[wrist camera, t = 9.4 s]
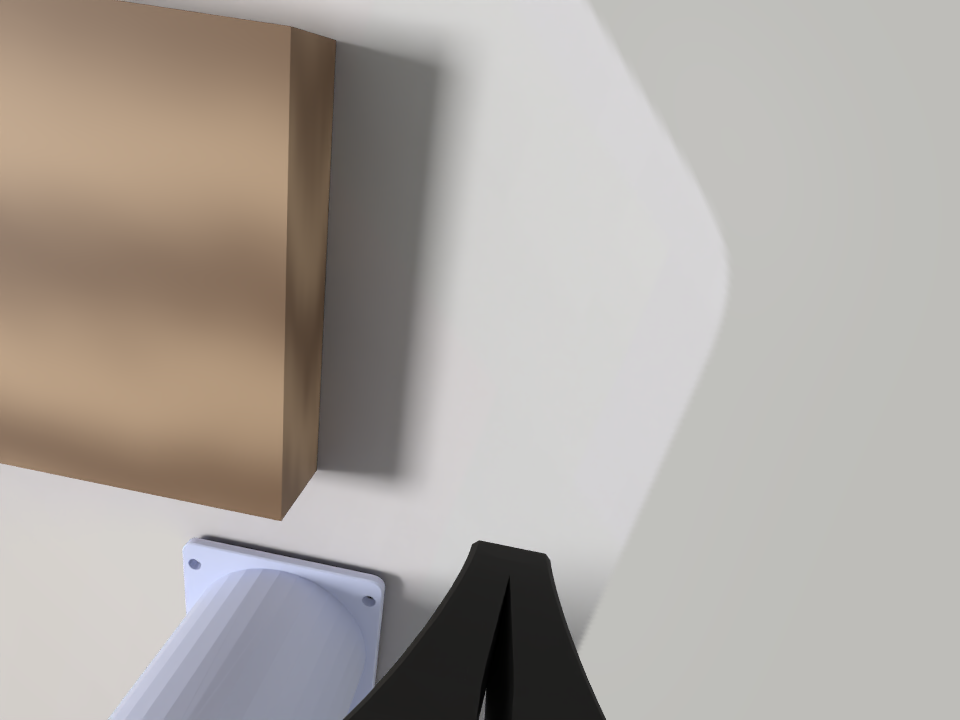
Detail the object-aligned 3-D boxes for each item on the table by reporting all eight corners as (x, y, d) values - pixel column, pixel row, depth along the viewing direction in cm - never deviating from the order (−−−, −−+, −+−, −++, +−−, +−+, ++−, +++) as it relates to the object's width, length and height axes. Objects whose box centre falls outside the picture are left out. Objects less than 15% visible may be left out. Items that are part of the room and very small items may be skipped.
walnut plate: (316, 470, 22) (281, 521, 20) (8, 408, 23) (-68, 449, 20) (336, 40, 17) (290, 26, 14) (-69, -21, 18) (-186, -46, 15)
